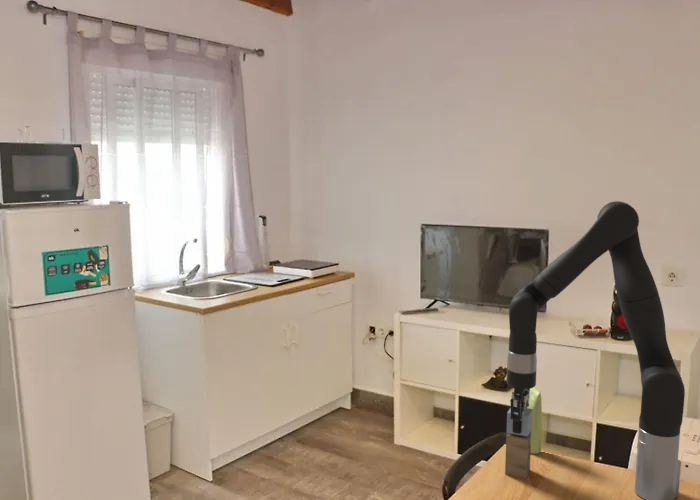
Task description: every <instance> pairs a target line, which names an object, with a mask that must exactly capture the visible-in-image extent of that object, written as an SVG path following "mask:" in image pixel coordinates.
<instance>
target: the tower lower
mask: <svg viewBox="0 0 700 500" xmlns="http://www.w3.org/2000/svg"><path fill="white" fill-rule="evenodd" d="M531 454H532V453H531V451H530V453H529V455H528V457H527V459H522V458H517V457H512V456H507V455H506V454H505V461H504V462H505V463H504V471H505V472H504V475H506V476H511V477H515V478H519V479H524V480H526V479H527V478H528V475H529V472H530V471H531Z"/></svg>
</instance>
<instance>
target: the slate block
mask: <svg viewBox="0 0 700 500" xmlns="http://www.w3.org/2000/svg"><path fill="white" fill-rule="evenodd" d="M521 408H522V407H521ZM515 415H518V413H515ZM510 416H511V407H509V409H508V410H507V412H506V434H508V433H512V434H517V435H523V436H528V435H529V433H530V431H531V429H532V409H529V408H525V411H524V412H523V415H522V417H523V419H522V431H521V433H520V434H518V433H514V432H513V419H511V418H510Z"/></svg>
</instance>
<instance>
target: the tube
mask: <svg viewBox="0 0 700 500" xmlns="http://www.w3.org/2000/svg"><path fill="white" fill-rule="evenodd" d="M528 408H529V409H532V429H531V454H535V455H537V454H540V453H541V452H542V443H543V442H542V439H543V438H542V436H543V432H542V431H543V411H542V409H543V408H542V394H541V391H540V389H539V388H538V387H537V386H536V385H535V387H533V388H531V389H530V396H529V407H528Z"/></svg>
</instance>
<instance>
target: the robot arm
mask: <svg viewBox="0 0 700 500" xmlns="http://www.w3.org/2000/svg"><path fill="white" fill-rule="evenodd" d="M639 224H640V219H639V214H638V212H637V211H636V209H635V208H634V206H632V205H631V204H629V203H626V202H625V201H621V200H620V201H619V200H617V201H616V200H615V201H610V202H608V203H606V204H605V205H604V206H602V207H601V208H600V210H599V213H598V214H597V218H596V221H595V222H594V223H593V224H592V225H591V227H590V228H589V229H588V230H587V232H585V234H584V235H583V236H582V237H580V239H578V241H577V242H575V243H574V244H573V245H572V246H571V247H569V248H568V249H567V250H565V251H564V252H562V253H561V254H560V255H558V256H557V257H556V258H555V259H554V260H553V261H552V262H551V263H549V264H548V265H547V266H546V267H544V269H543V270H541V272H540V273H539V274H537V276H536V277H535V278H534V279H533V280H532V281H531V282H529V283H528V284H526V285H525V286H524V287H523V288H521V289H520V290H519V291H518V292H517V293H516V294H515V295H514V296H513V297H512V299H511V301H510V303H509V306H508V307H509V310H508V311H509V312H508V313H509V315H508V319H509V321H508V322H509V338H508V353H507V360H506V364H507V365H506V384H507V385H508V386H509V387H511V388H513V391H512V392H511V398H510V402H509V403H510V408H511V416H510V418H511V419H513V432H514V433H518V434H520V433H521V431H522V419H523V417H522V415H523V412H524V411H525V408H528V407H529V396H530V389H531V388H533V387H535V386H536V385H537V370H538V369H537V363H538V362H537V361H538V359H537V346H538V344H537V341H538V340H537V331H536V329H537V319H538V311H539V310H540V309H541V308H542V307H543V306H545V304H546V303H547V302H548V301H550V300H551V299H554V298H556V297H557V296H558V295H560V293H562V292H563V291H564V290H565V289H567V287H568V286H570V285H571V284H572V283H573V282H575V280H576V279H577V278H578V277H579V276H580V275H581V274H582V273H584V271H586V269H588V268H589V267H590V265H592V264H593V263H594V262H595V261H596V260H597V259H599V258H600V257H601V256H602V255H604V254H605V253H606V252H609V256H610V260H611V264H612V265H611V266H612V270H613V277H614V278H613V279H614V285H615V290H616V295H617V300H618V304H619V307H620V311H621V315H622V317H623V320H624V323H625V326H626V328H627V330H628V332H629V335H630V337H631V339H632V341H633V343H634V346H635V349H636V353H637V357H638V362H639V363H638V364H639V371H640V383H641V388H642V389H641V400H640V401H641V402H640V412H639V413H640V415H639V419H638V433H637V449H636V451H637V452H636V461H635V462H636V464H635V465H636V466H635V479H634V492H635V494H636V495H637V496H639V497H640V498H642V499H644V500H675V499H676V498H679V495H680V492H679V491H680V480H681V479H680V478H681V466H682V462H681V460H679V451H680V439H681V438H680V437H681V436H680V435H681V427H682V424H683V420H684V419H683V417H684V416H683V415H684V407H685V406H684V405H685V391H686V390H685V384H684V381H683V379H682V377H681V376H682V375H681V373H680V372H679V370H678V368H677V366H676V363H675V361H674V358H673V356H672V353H671V350H670V348H669V344H668V339H667V334H666V333H667V331H666V322H665V316H664V309H663V304H662V302H661V297H660V294H659V291H658V288H657V284H656V282H655V279H654V277H653V275H652V274H653V273H652V271H651V269H650V268H649V267H650V266H649V265H648V262H647V261H646V259H645V257H644V256H645V255H644V253H643V251H642V247H641V241H640V237H639V236H640V235H639V230H638V228H639ZM521 407H522V408H521ZM515 413H518V415H515Z"/></svg>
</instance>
